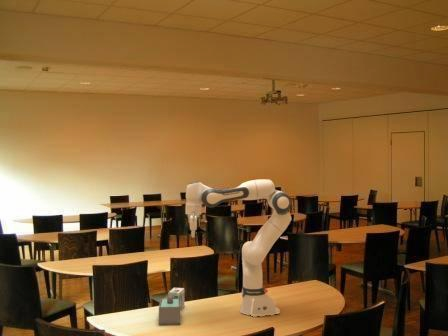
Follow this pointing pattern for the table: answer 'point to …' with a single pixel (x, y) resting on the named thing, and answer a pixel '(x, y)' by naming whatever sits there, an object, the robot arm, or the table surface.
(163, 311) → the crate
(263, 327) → the table surface
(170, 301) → the lid
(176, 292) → the light bulb box
